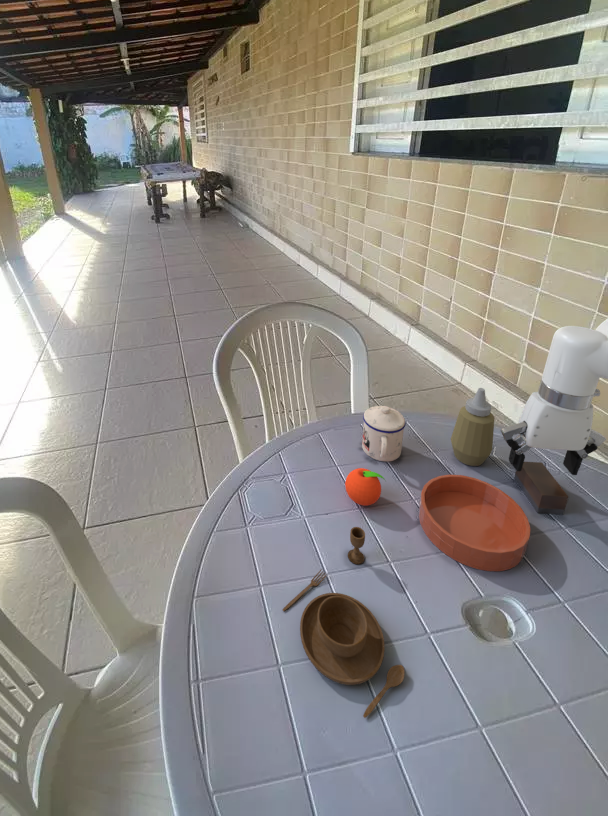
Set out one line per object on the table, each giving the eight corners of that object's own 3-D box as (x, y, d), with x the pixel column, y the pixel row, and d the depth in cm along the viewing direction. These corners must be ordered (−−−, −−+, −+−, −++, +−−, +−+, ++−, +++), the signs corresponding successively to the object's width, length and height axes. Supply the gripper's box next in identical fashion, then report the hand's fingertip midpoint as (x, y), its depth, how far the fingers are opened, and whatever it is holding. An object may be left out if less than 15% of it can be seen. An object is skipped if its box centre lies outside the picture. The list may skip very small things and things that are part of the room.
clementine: (379, 486, 89) (381, 459, 86) (390, 513, 82) (393, 485, 80) (340, 486, 89) (342, 460, 87) (348, 514, 83) (350, 486, 80)
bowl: (498, 494, 85) (502, 477, 84) (545, 576, 69) (552, 556, 68) (408, 489, 88) (410, 472, 86) (434, 566, 72) (438, 547, 70)
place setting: (269, 616, 66) (269, 591, 64) (351, 545, 77) (353, 520, 74) (364, 733, 53) (367, 705, 50) (447, 626, 63) (453, 600, 61)
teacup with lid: (361, 434, 105) (363, 394, 100) (400, 439, 102) (405, 399, 98) (360, 468, 94) (363, 425, 90) (404, 475, 91) (410, 431, 87)
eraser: (537, 479, 88) (542, 462, 87) (563, 514, 80) (568, 496, 78) (514, 478, 89) (518, 461, 87) (537, 513, 81) (542, 495, 79)
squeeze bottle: (443, 444, 99) (454, 378, 93) (480, 446, 98) (493, 379, 92) (455, 469, 92) (468, 399, 85) (496, 471, 91) (511, 401, 84)
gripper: (604, 384, 78) (578, 457, 84) (502, 380, 80) (485, 451, 87) (634, 408, 71) (604, 486, 77) (522, 403, 74) (502, 479, 80)
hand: (541, 468), depth 82 cm, fingers open, 9 cm apart
